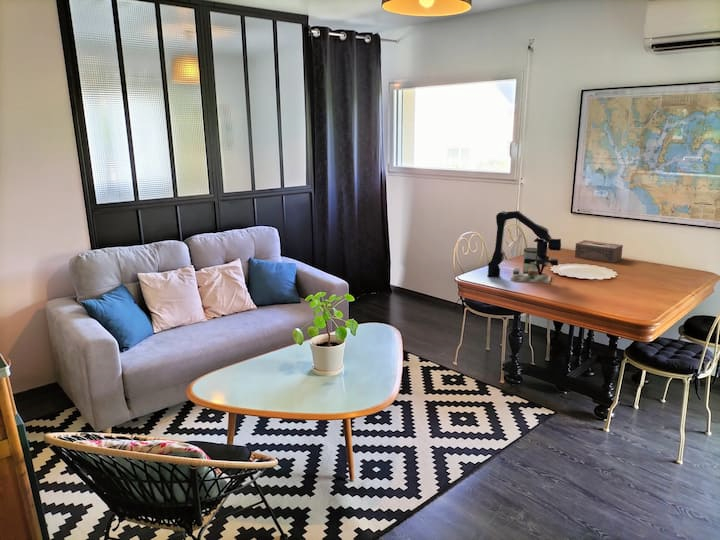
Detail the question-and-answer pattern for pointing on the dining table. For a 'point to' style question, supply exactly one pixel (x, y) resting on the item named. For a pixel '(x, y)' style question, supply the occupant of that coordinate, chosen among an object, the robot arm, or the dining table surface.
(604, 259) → the tissue box cover
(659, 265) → the dining table surface
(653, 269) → the dining table surface
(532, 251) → the coffee can
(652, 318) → the dining table surface
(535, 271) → the gauge carriage
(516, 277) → the base
